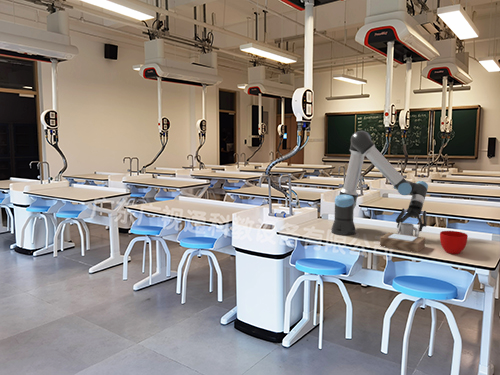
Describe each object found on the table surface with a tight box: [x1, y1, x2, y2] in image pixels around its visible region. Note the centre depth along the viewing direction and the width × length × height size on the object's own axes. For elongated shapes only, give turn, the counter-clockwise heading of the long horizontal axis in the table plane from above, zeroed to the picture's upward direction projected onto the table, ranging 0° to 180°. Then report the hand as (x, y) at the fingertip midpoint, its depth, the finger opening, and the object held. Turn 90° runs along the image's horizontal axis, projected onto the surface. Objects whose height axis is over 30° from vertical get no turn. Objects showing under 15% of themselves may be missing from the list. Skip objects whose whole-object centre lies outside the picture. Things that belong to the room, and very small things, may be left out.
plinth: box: [379, 232, 426, 253], centre depth 221 cm, size 20×14×5 cm
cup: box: [399, 222, 418, 237], centre depth 234 cm, size 7×10×9 cm
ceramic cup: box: [439, 230, 468, 255], centre depth 211 cm, size 13×17×10 cm
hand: (407, 233), depth 232 cm, fingers closed on cup, 10 cm apart
